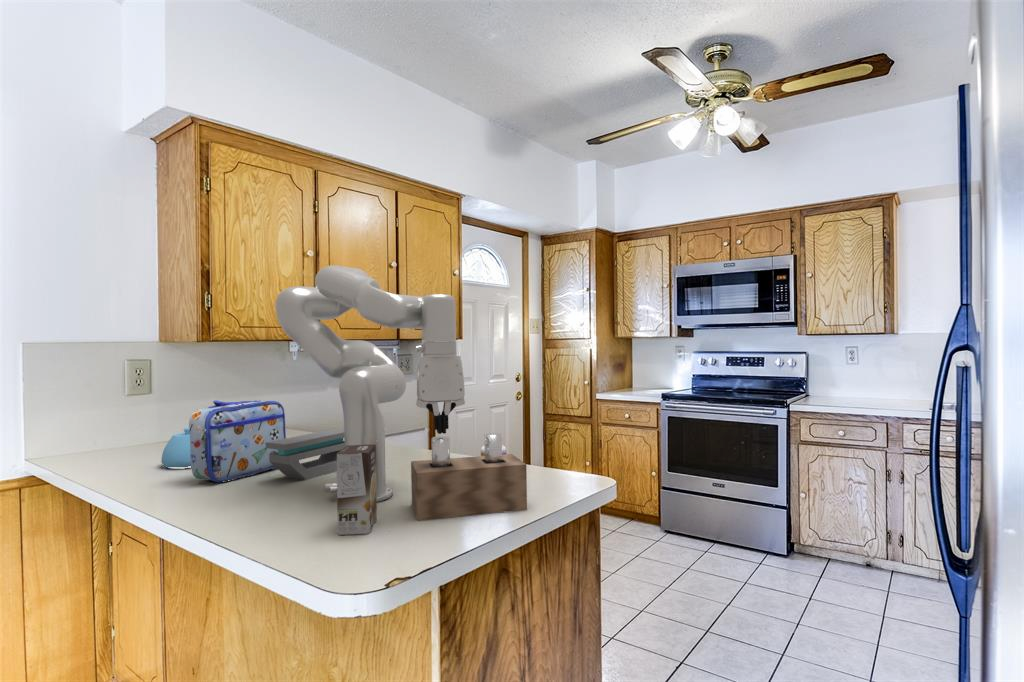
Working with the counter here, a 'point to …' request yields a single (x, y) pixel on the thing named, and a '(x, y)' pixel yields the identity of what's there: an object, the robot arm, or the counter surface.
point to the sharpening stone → (307, 454)
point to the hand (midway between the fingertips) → (441, 432)
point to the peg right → (493, 448)
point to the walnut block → (468, 487)
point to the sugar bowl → (177, 451)
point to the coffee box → (356, 489)
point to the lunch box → (234, 438)
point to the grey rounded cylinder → (440, 451)
